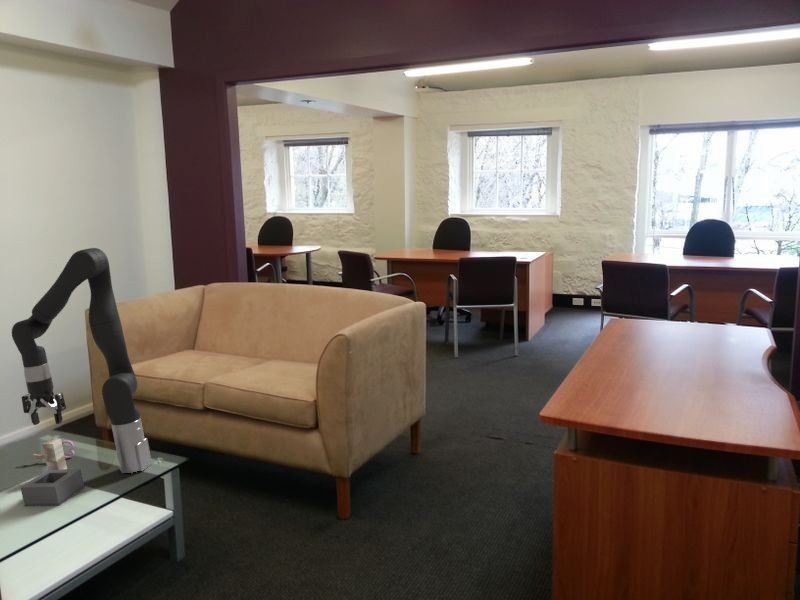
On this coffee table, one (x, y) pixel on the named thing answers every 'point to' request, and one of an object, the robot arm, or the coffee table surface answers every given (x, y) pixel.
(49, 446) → the wooden peg
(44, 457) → the decorative key
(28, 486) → the well block
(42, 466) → the coffee table surface
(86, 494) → the coffee table surface
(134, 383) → the robot arm
